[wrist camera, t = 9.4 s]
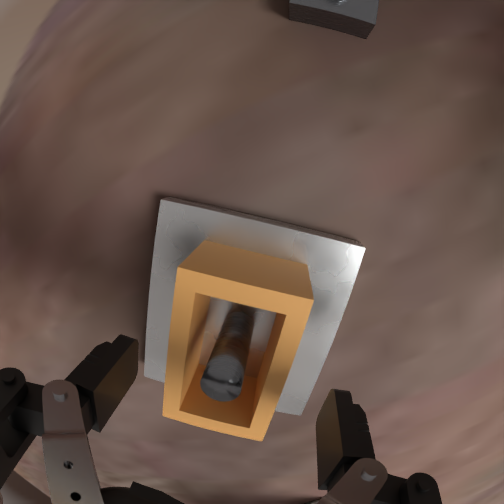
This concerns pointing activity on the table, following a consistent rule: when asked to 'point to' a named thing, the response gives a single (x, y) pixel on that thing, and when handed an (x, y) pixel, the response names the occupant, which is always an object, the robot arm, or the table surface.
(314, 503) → the candy bar box
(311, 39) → the table surface
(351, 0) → the grey knob block
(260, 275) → the orange link
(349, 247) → the plate
